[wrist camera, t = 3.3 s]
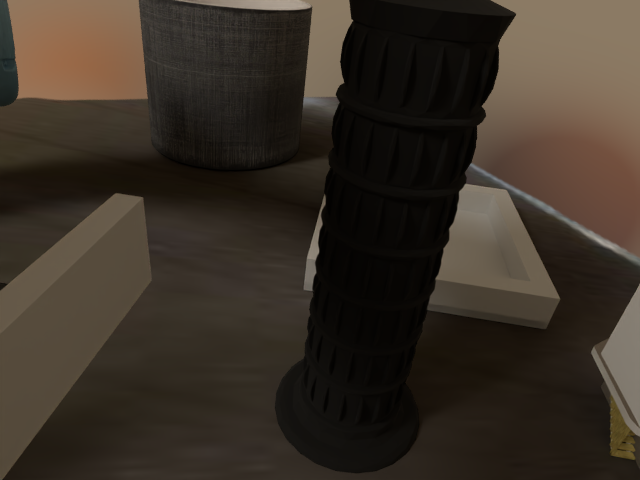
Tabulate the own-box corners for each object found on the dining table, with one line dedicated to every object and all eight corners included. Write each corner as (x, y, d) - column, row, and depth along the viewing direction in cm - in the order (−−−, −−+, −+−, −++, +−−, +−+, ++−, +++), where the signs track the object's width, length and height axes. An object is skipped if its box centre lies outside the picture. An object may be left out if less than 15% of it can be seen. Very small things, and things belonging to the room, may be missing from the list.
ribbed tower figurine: (432, 477, 29) (406, 357, 38) (622, 0, 15) (514, -20, 24) (269, 467, 29) (280, 347, 37) (312, -39, 15) (315, -45, 23)
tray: (303, 289, 44) (307, 258, 42) (329, 188, 62) (332, 164, 60) (545, 329, 42) (560, 299, 41) (498, 214, 61) (506, 190, 59)
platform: (559, 547, 27) (609, 480, 23) (500, 332, 42) (525, 272, 39) (780, 591, 26) (864, 528, 23) (638, 356, 41) (676, 297, 38)
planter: (150, 174, 60) (135, -1, 50) (150, 117, 78) (139, -21, 67) (316, 170, 67) (333, 15, 56) (282, 119, 85) (290, -7, 74)
